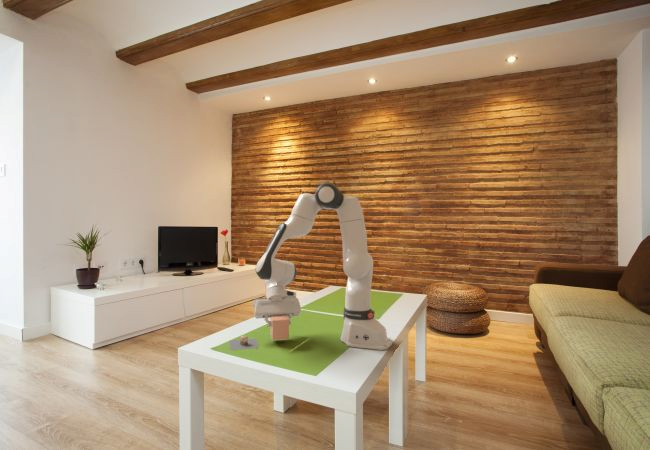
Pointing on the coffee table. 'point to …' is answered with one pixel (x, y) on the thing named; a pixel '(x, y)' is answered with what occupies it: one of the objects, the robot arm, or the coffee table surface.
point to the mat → (236, 345)
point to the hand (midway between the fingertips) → (279, 325)
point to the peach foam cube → (279, 327)
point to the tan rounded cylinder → (243, 340)
